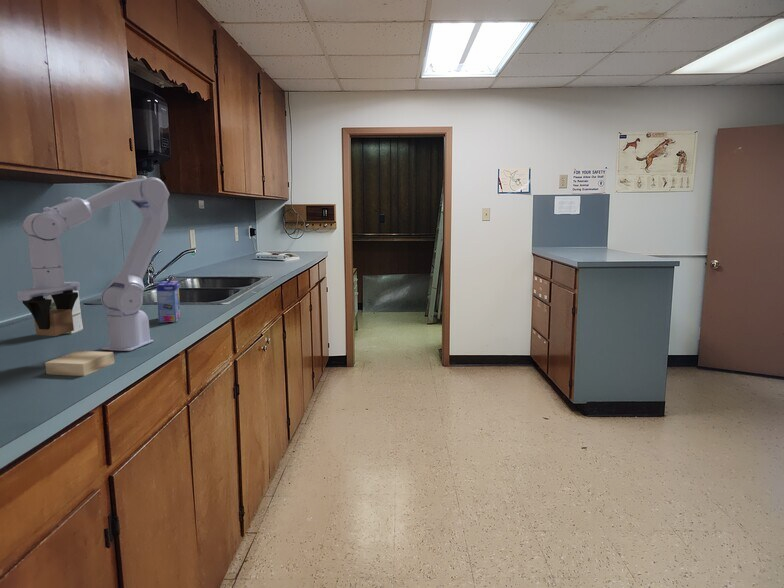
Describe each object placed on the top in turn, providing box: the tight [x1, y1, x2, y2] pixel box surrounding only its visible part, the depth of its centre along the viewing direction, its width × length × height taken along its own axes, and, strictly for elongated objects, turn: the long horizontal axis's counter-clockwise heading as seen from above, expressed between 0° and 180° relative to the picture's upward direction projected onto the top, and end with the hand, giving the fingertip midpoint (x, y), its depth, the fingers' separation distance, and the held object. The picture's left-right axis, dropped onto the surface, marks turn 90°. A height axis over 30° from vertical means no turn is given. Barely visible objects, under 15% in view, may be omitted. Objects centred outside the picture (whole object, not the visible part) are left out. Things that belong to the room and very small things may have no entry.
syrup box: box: [46, 281, 84, 335], centre depth 137 cm, size 6×6×14 cm
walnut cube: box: [33, 309, 74, 337], centre depth 109 cm, size 5×5×5 cm
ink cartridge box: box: [156, 274, 181, 324], centre depth 153 cm, size 10×6×14 cm, turn 17°
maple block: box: [44, 350, 115, 377], centre depth 106 cm, size 9×9×3 cm
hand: (55, 326), depth 109 cm, fingers closed on walnut cube, 5 cm apart
